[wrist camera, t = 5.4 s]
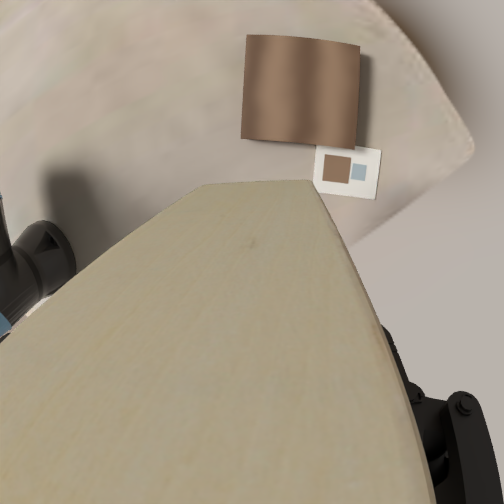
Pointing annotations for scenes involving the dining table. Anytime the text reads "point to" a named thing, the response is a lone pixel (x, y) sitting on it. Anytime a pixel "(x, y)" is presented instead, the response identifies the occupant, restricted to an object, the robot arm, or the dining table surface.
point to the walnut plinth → (300, 91)
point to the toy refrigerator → (211, 368)
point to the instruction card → (347, 171)
